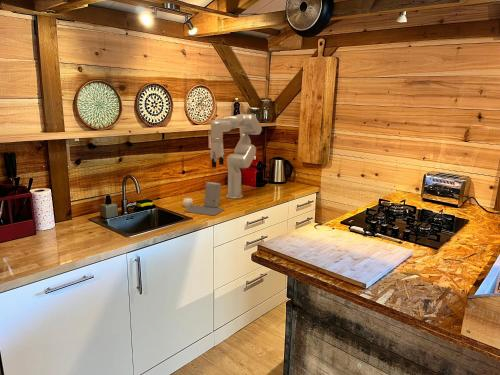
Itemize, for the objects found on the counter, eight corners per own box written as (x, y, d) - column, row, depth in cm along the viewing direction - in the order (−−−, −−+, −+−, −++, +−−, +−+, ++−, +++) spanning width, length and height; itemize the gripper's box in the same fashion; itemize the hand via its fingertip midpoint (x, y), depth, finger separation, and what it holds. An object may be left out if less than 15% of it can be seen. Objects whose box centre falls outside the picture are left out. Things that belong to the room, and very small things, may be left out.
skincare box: (204, 206, 254) (204, 182, 252) (209, 204, 260) (210, 181, 258) (214, 208, 250) (215, 184, 248) (220, 206, 257) (221, 182, 254)
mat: (195, 205, 256) (195, 205, 256) (225, 209, 248) (225, 209, 248) (183, 211, 243) (183, 211, 242) (214, 216, 235) (214, 215, 235)
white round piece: (186, 204, 259) (186, 197, 258) (194, 205, 257) (194, 198, 256) (181, 206, 254) (181, 199, 253) (189, 207, 252) (189, 200, 250)
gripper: (218, 138, 261) (219, 163, 265) (205, 141, 246) (206, 167, 250) (228, 139, 258) (228, 164, 262) (215, 142, 243) (216, 168, 247)
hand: (217, 165), depth 256 cm, fingers open, 9 cm apart
